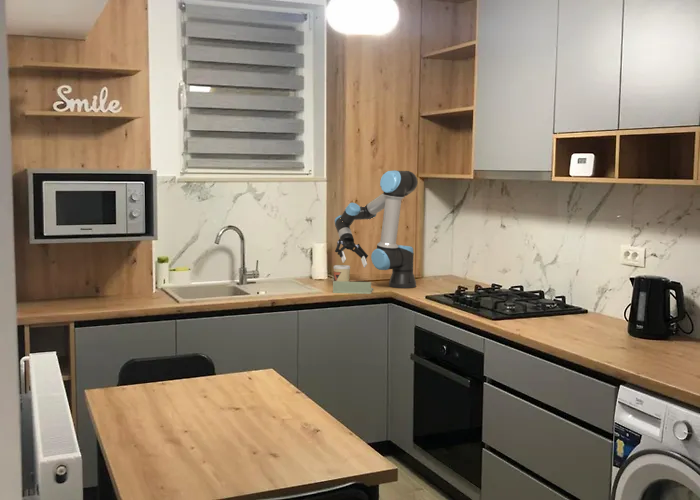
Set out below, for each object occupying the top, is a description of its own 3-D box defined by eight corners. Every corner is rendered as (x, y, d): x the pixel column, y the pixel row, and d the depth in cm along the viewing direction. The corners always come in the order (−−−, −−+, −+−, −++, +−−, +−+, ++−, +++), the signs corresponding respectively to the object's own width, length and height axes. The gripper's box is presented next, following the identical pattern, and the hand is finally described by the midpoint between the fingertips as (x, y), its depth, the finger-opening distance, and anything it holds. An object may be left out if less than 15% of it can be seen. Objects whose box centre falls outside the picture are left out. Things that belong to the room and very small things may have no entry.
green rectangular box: (373, 289, 407) (373, 278, 406) (370, 293, 393) (370, 282, 392) (336, 289, 409) (336, 278, 408) (332, 292, 395) (333, 281, 395)
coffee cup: (330, 286, 417) (330, 265, 416) (345, 286, 421) (346, 264, 420) (337, 289, 409) (337, 267, 407) (352, 288, 412) (353, 266, 411)
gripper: (361, 246, 434) (370, 272, 420) (324, 237, 422) (332, 263, 408) (367, 237, 430) (377, 263, 416) (330, 227, 418) (338, 254, 404)
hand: (355, 263), depth 412 cm, fingers open, 13 cm apart
